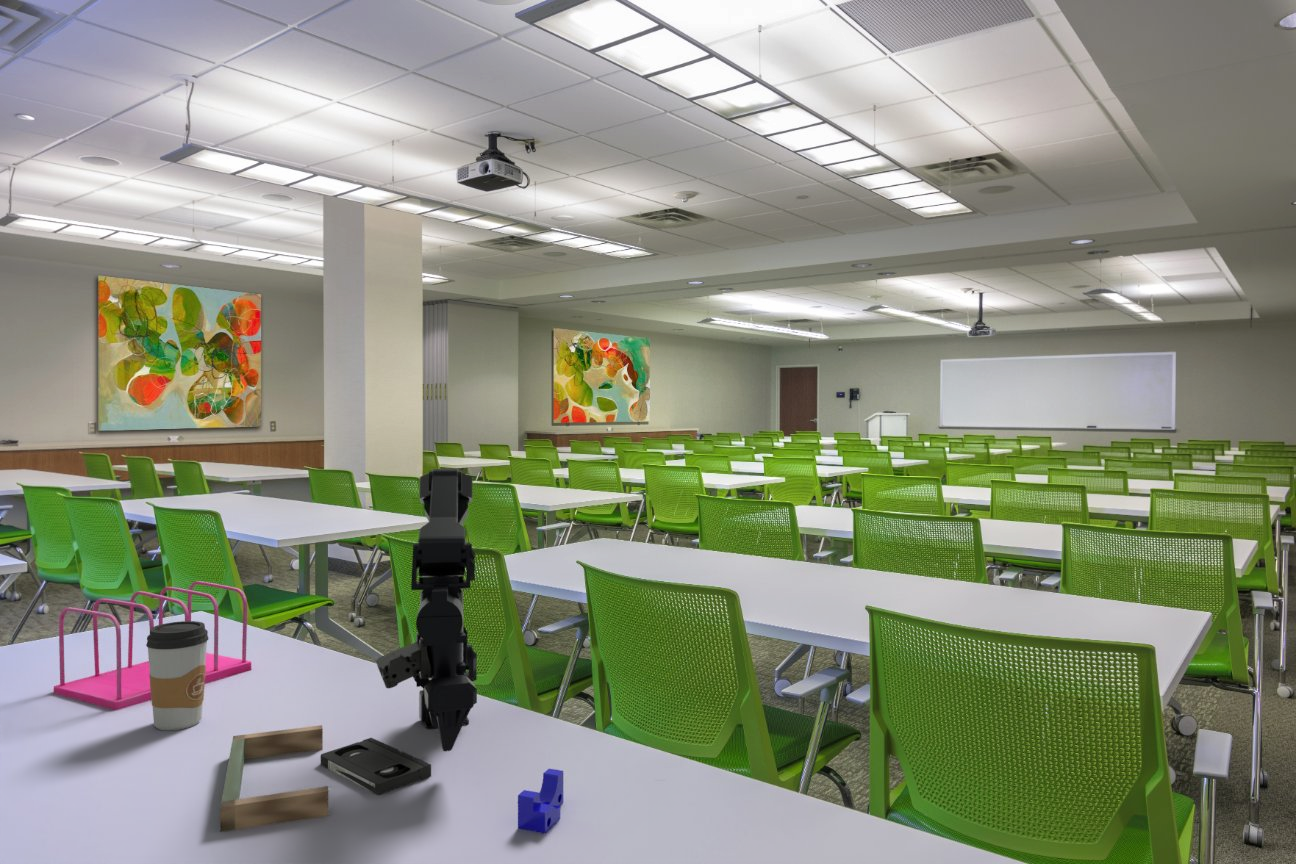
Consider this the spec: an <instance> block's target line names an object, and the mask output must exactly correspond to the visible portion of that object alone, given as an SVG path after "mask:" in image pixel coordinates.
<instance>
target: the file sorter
mask: <svg viewBox="0 0 1296 864" xmlns="http://www.w3.org/2000/svg"><path fill="white" fill-rule="evenodd" d="M196 585H202V586H208V587H214V588H219V589H223V590H229V591H234V592H237V593H238V594H239V595H240V597H241V599H242V639H241V640H242V643H241V645H242V647H241V648H242V649H241V653H242V654H241V658H237V657H236V658H235V657H232V656H231V657H230V656H225V655H221V654H219V606H218V602H217V599H216V598H215V597H214V596H213V595H211V594H210V593H206V592H201V591H196V590H193V589H194V587H195V586H196ZM168 590H169V591H174V592H179V593H185V594H187V605H186V603H185V602H183V601H182V600H180V599H177V598H173V597H169V596H165V593H166V592H167V591H168ZM138 595H140V596H147V597H149V598H154V599H158V625H161V624H164V623H163V622H164V621H163V620H164V615H163V614H164V601H166V602H171V603H175V604H178V605H179V606H180V607H181V608H182V611H183V615H184V621H192V598H193V596H192V595H195V596H199V597H200V596H201V597H204V598H206V599H209V600H210V602H211V603H212V606H213V612H214V613H213V615H214V617H213V618H214V621H213V623H214V624H213V625H214V627H213V628H214V629H213V636H214V637H213V653H210V652H206V662H205V666H206V671H205V685H206V684H209V683H213V682H216V681H219V680H222V679H225V678H229V677H233V676H236V675H240V674H242V673H246V672H249V671H252V661H250V660H247V637H248V636H247V635H248V633H247V631H248V601H247V600H248V599H247V596H246V594H245V593H244V591H243V590H241V589H240V588H238V587H234V586H229V585H223V584H220V583H219V584H218V583H213V582H206V581H201V580H200V581H199V580H196V581H194V582H192V583H191V584H190V586H189V588H188V589H186V588H185V589H184V588H180V587H175V586H174V587H173V586H165V587H164V588H162V590H161V591H160V593H159V594H156V593H152V592H148V591H144V590H143V591H142V590H139V591H135V592H134V593H133V594H132V595H131V597H130V601H125V600H119V599H111V598H98V599H97V600H96V601H95V602H94V604H93V607H92V610H89V609H84V608H77V607H70V606H69V607H66V608H63V609H62V610H61V612H60V614H59V616H58V635H59V636H58V643H59V645H58V648H59V649H58V650H59V652H58V654H59V684H56V685H54V686H53V694H56V695H60V696H63V697H67V698H70V699H74V700H79V701H82V702H85V703H88V704H93V705H96V706H99V707H103V708H107V709H110V710H114V711H118V710H122V709H125V708H128V707H133V706H136V705H139V704H142V703H146V702H149V701H151V689H150V677H149V673H150V669H149V660H147V661H143V662H140V663H135V664H133V644H134V642H133V639H134V609H135V608H138V609H141V610H143V611H144V612H145V613H146V615H147V618H148V623H149V624H148V625H149V630H150V629H151V628H152V627H155V622H154V616H153V613H152V611H151V610H150V608H149V607H148V606H147V605H144V604H141V603H136V602H135V601H136V598H137V596H138ZM101 603H107V604H116V605H121V606H128V607H129V615H128V616H129V617H128V618H129V619H128V620H129V621H128V650H127V666H125V667H122V633H121V632H122V631H121V626H120V622H119V620H118V619H117V617H116V616H114V614H110V613H106V612H102V611H101V612H100V611H98V608H99V605H100V604H101ZM67 612H71V613H79V614H87V615H91V616H92V628H93V629H92V630H93V634H92V635H93V655H94V675H90V676H87V677H83V678H79V679H75V680H72V681H68V682H65V681H66V680H65V679H66V678H65V677H66V675H65V635H64V630H65V629H64V625H65V624H64V623H65V621H64V620H65V616H66V614H67ZM98 617H103V618H106V619H110V621H112V622H113V625H114V628H115V637H116V642H115V643H116V644H115V645H116V647H115V648H116V650H115V651H116V668H115V669H114V670H110V671H106V672H101V673H100V659H99V658H100V657H99V656H100V654H99V653H100V652H99V632H98V626H99V625H98Z"/></svg>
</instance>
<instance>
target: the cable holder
mask: <svg viewBox="0 0 1296 864" xmlns="http://www.w3.org/2000/svg"><path fill="white" fill-rule="evenodd" d="M542 776H543V777H542V783H541V788H540V791H539V792H538V791H532V790H526V789H523V790H522V791H521V792H520V793H519V794H518V795H517V829H520V830H525V831H528V832H529V831H531V832H534V831H535V833H539V832H541V833H540V834H544V833H545V834H547V833H548V832H549V831H550V829H552V828H553V826H555V825H556V823H558V822H559V821H560V820H561V805H562V804H564V770H560V769H554V768H548V769H546V770H545V771H544V772H543V775H542Z"/></svg>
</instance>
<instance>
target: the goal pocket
mask: <svg viewBox="0 0 1296 864" xmlns="http://www.w3.org/2000/svg"><path fill="white" fill-rule="evenodd" d="M323 729H324V728H323V725H322V724H321V725H313V726H305V727H304V726H303V727H296V728H288V729H287V728H286V729H281V730H272V731H263V732H262V731H261V732H257V733H256V732H255V733H247V734H246V733H245V734H239V735H233V736H232V740H231V747H230V752H229V756H228V763H227V768H226V774H225V779H224V785H223V791H222V797H221V802H220V806H219V810H220V812H219V814H220V815H219V817H220V818H219V819H220V820H219V822H220V825H219V826H220V830H219V831H220V833H223V832H230V831H236V830H243V829H248V828H256V827H262V826H263V827H264V826H269V825H276V824H283V823H291V822H296V821H302V820H309V819H315V818H322V817H328V816H329V786H327V785H326V786H321V787H320V786H319V787H313V788H306V789H299V790H298V789H297V790H292V791H286V792H279V793H271V794H265V795H258V796H252V797H250V796H249V797H245V798H240V797H241V796H240V795H241V790H242V789H241V788H242V782H243V774H244V773H243V772H244V768H245V761H246V759H255V758H264V757H271V756H280V755H287V754H289V755H290V754H296V753H305V752H313V751H319V750H320V751H321V750H323V747H324V746H323V743H324V742H323V740H324V739H323V733H324V731H323Z"/></svg>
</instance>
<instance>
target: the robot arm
mask: <svg viewBox="0 0 1296 864" xmlns="http://www.w3.org/2000/svg"><path fill="white" fill-rule="evenodd" d="M473 482H474V481H473V476H471V475H470V474H466V473H464V472H462V469H458V468H433V469H432V470H428V473H426V474H424V475H422V476H419V496H418V497H419V498H418V499H419V502H420V504H423V508H424V516H425V517H426V519H427V521H428V522H427V523H425V524H424V525H422V527H420V528H419V531H418V541H417V542H413V544H412V545H413V546H412V547H413V548H412V559H411V560H412V562H411V563H412V564H411V585H410V588H411V591H421V592H420V600H419V601H420V602H419V606H418V607H419V608H418V612H417V615H416V619H415V626H416V628H415V629H416V630H417V632H416V633H415V642H413V643H411V644H408V645H404V646H402V647H400V648H397V649H395V650H393V651H390V652H389V653H386V654H384V655H382V656H380V657H378V658H377V659H376V660H375V663H376V666H377V668H378V671H379V674H380V675H381V679H382V681H383V684H384V686H385V688H386V689H392V688H395V687H397V686H398V685H399V684H400V683H402V682H404V681H406V680H408V679H411V678H413V680H414V681H415V682H416V687H417V688H420V687H421V688H422V689H421V690H419V693H418V694H419V695H418V696H419V697H418V701H419V702H418V704H419V705H418V708H419V709H418V716H419V718H420V722H422V723H423V724H424V727H425V729H426V730H432V729H433V730H434V729H438V732H439V738H440V743H441V748H442V751H443V752H450V751H452V750H453V748H454V746H455V743H456V741H457V738H458V737H459V734H460V732H461V730H462V727H463V726H464V725H468V724H470V719H469V717H468V715H469V714H470V712H471V709H472V708H474V706H475V704H477V703H478V700H477V699H478V696H477V695H478V693H477V692H478V689H477V687H476V686H475V684H474V681H477V679H478V676H477V674H478V673H477V666H478V665H477V663H478V662H477V661H478V660H477V657H478V654H477V652H476V651H475V650H474V648H473V643H469V644H468V641H469V640H468V630H467V629H466V627H465V625H464V589H471V582H472V581H475V580H476V579H475V578H476V575H475V573H476V569H475V568H476V563H475V562H476V557H475V556H476V554H475V553H476V550H475V549H474V547H473V545H472V543H471V541H466V527H465V526H464V525H463V524H464V522H465V520H466V519H467V517H468V515H469V503H473V499H474V498H473V489H474V488H473V486H474V485H473ZM465 575H466V577H465V578H466V579H464V576H465ZM418 576H419V577H418ZM417 579H418V580H417Z"/></svg>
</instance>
